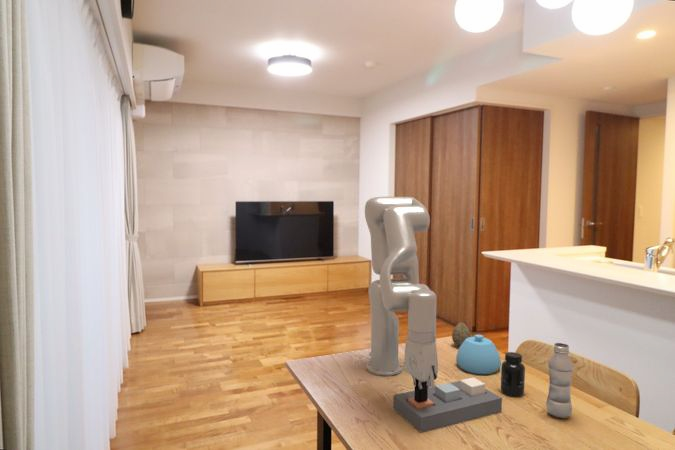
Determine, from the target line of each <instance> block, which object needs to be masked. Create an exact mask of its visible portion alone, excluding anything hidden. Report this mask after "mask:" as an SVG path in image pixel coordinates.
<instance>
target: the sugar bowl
mask: <svg viewBox="0 0 675 450" xmlns="http://www.w3.org/2000/svg"><path fill="white" fill-rule="evenodd" d="M455 361H456V364H457V365H458V366H459V367H460V368H461V369H462V370H463V371H464V372H468V373H471V374H475V375H490V374H493V373H495V372H497V371H498V370H499V369H501V366H502V361H501V356H500V354H499V351H498V349H497V347H496V345H495V344H494V343H493V341H492V340H491V339H489V338H487V337H484V335H482V334H474V335H473V336H471V337H469V338H467V339H465V341H464V342H463V343H462V345H461V346H460V347H458V349H457V353H456V358H455Z"/></svg>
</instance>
